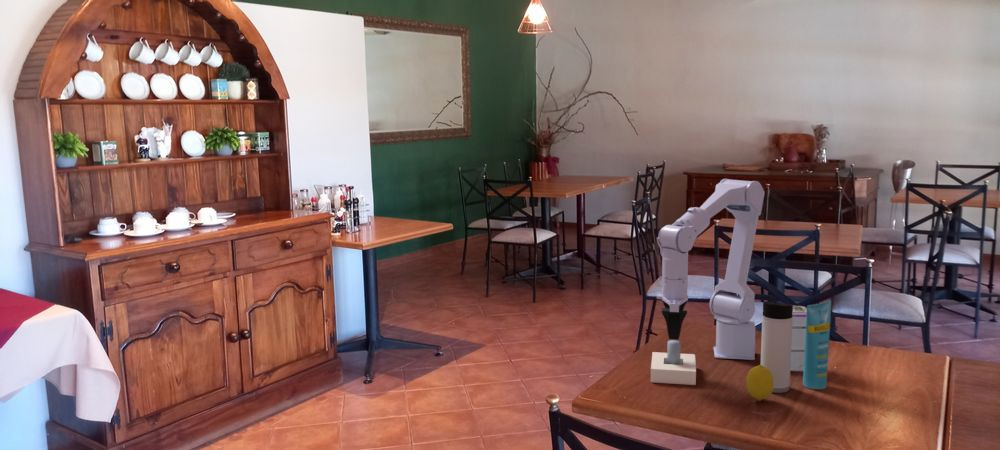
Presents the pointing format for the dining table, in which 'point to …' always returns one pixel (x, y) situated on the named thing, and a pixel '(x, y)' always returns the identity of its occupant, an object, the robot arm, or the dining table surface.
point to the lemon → (759, 382)
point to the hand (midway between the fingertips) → (673, 334)
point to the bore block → (673, 369)
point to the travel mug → (777, 343)
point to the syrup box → (798, 338)
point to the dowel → (673, 352)
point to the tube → (817, 345)
